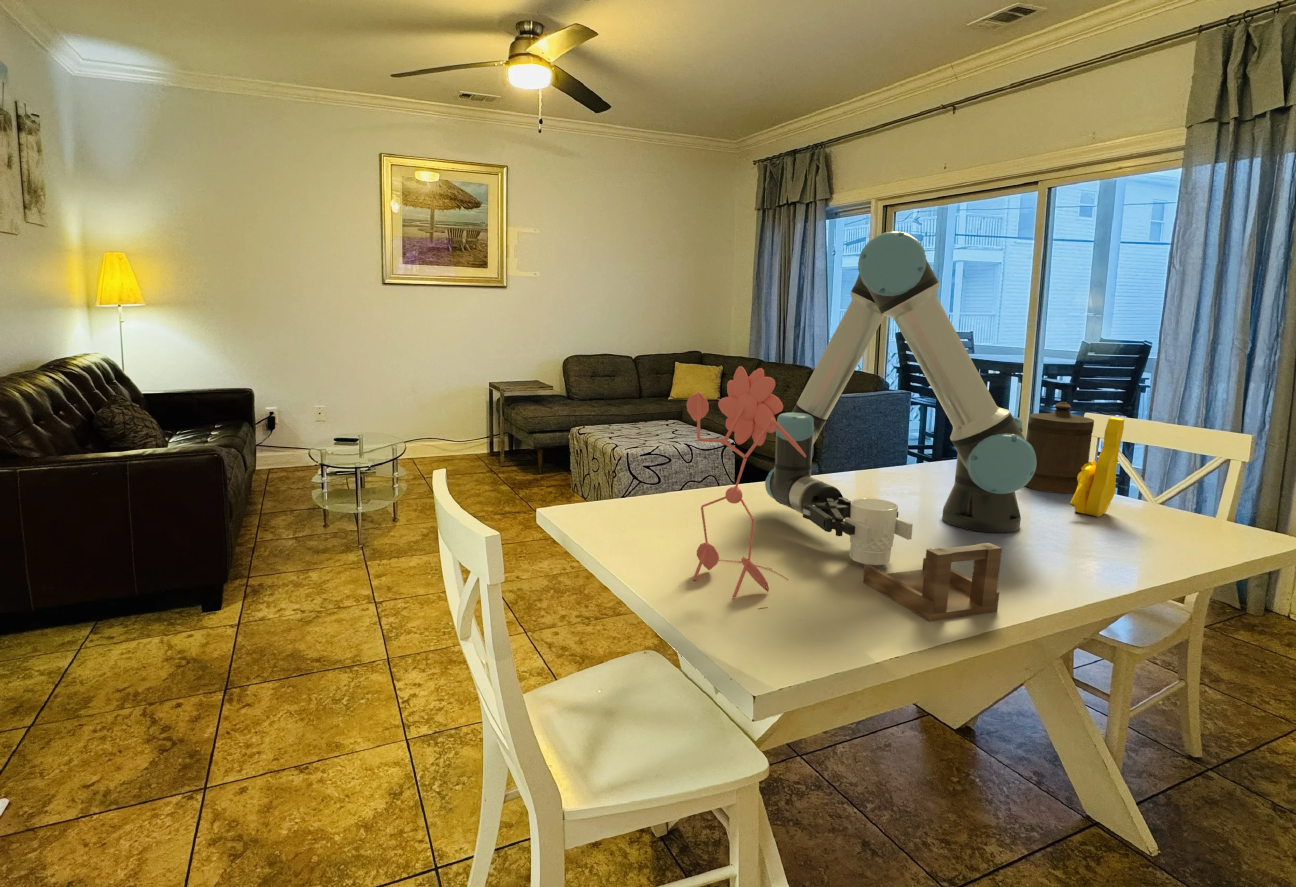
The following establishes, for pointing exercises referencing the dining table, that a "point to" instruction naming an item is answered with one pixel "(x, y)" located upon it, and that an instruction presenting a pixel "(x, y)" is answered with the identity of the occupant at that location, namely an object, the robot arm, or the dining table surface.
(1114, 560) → the dining table surface
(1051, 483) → the wooden container
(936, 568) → the brown wooden stand
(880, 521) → the white cup
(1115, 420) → the figure statuette
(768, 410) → the figurine
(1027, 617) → the dining table surface
